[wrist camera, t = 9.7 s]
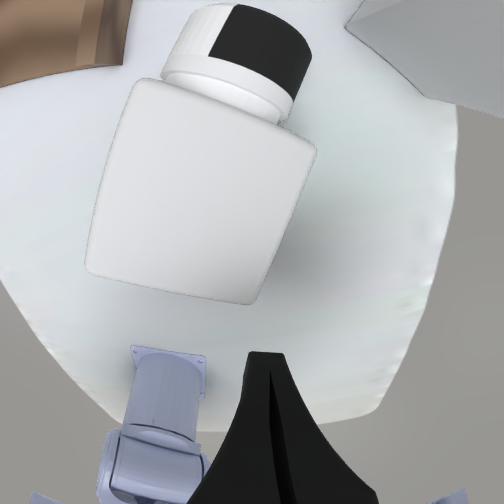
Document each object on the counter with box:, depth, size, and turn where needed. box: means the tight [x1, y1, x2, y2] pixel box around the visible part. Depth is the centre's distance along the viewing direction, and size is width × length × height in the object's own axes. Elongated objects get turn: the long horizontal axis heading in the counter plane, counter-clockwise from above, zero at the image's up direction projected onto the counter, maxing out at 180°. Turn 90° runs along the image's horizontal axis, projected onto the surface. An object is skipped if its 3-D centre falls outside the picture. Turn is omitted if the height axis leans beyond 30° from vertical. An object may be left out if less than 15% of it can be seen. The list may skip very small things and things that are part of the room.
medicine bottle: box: [84, 3, 317, 305], centre depth 12 cm, size 7×7×12 cm
